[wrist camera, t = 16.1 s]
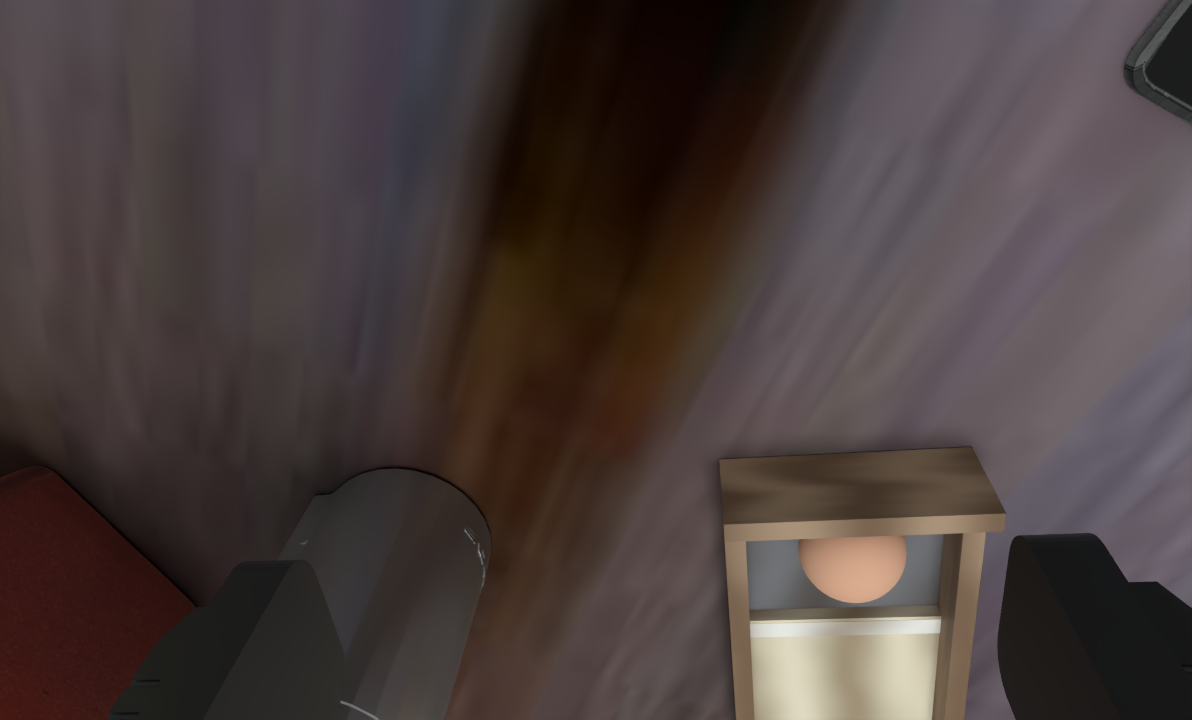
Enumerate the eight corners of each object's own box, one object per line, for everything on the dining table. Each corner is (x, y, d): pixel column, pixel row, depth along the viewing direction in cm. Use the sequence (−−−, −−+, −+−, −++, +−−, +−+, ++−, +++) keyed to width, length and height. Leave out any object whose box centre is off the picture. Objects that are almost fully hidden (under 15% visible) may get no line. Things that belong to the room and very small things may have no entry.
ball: (797, 494, 40) (807, 605, 39) (909, 488, 39) (923, 602, 38) (790, 504, 45) (799, 603, 44) (889, 499, 44) (901, 600, 43)
